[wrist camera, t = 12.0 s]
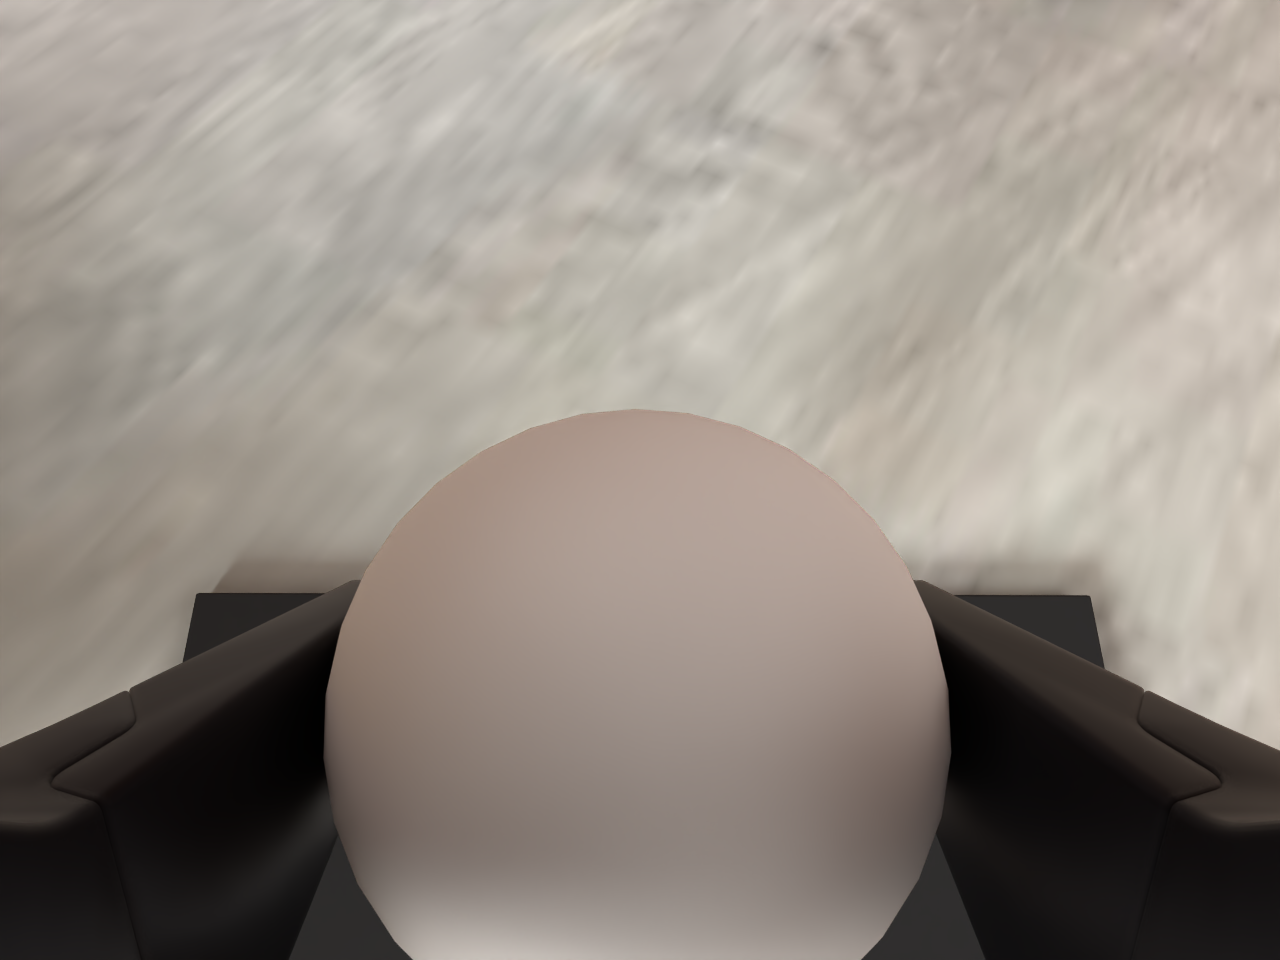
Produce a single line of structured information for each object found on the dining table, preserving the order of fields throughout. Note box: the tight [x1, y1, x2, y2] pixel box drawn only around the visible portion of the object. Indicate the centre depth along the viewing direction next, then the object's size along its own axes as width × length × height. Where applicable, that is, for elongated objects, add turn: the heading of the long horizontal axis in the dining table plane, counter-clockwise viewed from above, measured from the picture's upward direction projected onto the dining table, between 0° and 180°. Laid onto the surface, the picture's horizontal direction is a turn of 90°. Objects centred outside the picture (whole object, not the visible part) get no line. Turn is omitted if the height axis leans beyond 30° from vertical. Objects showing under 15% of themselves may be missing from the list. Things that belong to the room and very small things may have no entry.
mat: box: [183, 593, 1105, 960], centre depth 18 cm, size 14×20×1 cm
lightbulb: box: [323, 409, 951, 960], centre depth 12 cm, size 6×6×11 cm
